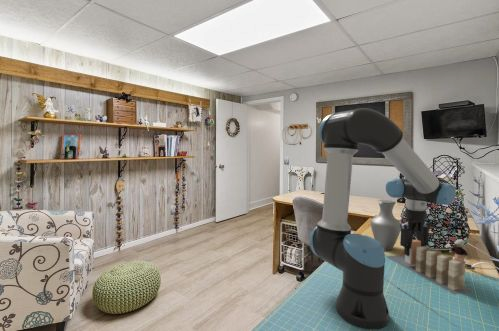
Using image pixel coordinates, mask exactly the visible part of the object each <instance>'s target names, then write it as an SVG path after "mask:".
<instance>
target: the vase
mask: <svg viewBox="0 0 499 331" xmlns="http://www.w3.org/2000/svg"><path fill="white" fill-rule="evenodd" d="M377 203H378V205H379V210H380V211H379V213H378V214H377V216H374V217H373V218H371V219H370V228H371V232H372V236H373V238H374V239H375V240H377V241H378V242H380V243H381V244H382V246H383V248H384V251H392V250H393V248H394V246H395V244H396V243H397V241H398V238H399V235H401V227H400V224H401V223H402V222H400V220H398V219H397V218H396V217H395V215H394V213H393V209H394V207H395V204H396V203H397V201H395V200H392V199H377Z"/></svg>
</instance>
